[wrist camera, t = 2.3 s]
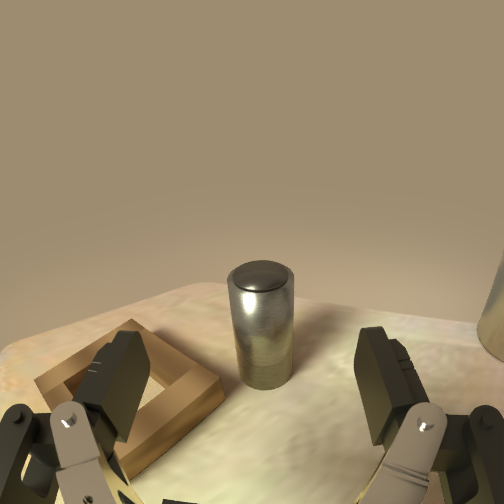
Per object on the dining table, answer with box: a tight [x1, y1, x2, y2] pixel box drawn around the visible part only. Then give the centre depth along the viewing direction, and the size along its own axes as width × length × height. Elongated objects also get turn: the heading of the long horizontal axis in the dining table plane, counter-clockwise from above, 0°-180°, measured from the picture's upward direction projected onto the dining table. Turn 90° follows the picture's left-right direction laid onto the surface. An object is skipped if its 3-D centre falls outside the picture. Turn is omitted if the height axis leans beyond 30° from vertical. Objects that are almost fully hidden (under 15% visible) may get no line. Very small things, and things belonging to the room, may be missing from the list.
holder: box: [34, 319, 225, 481], centre depth 23 cm, size 12×12×3 cm
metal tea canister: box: [227, 260, 294, 390], centre depth 25 cm, size 5×5×10 cm
